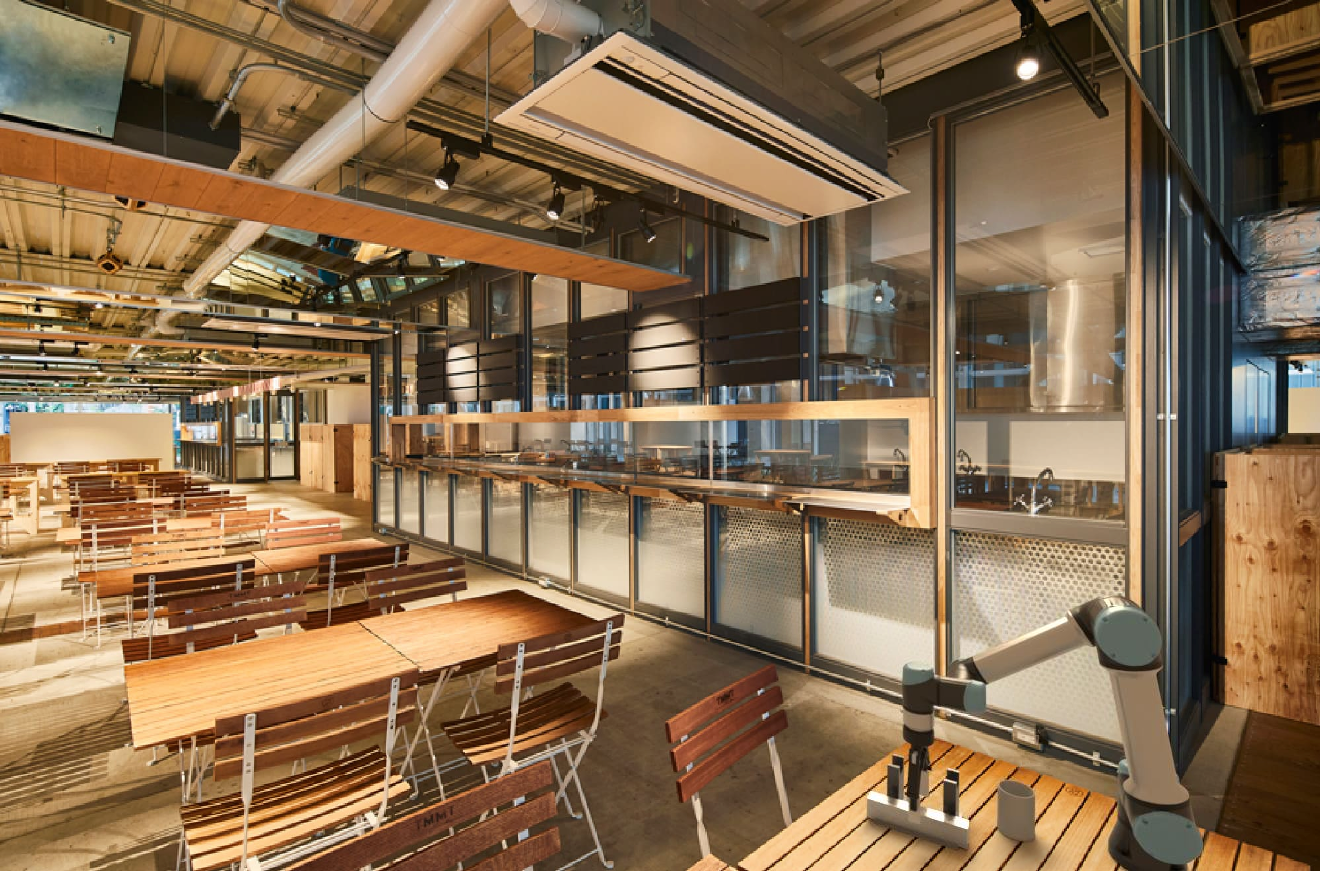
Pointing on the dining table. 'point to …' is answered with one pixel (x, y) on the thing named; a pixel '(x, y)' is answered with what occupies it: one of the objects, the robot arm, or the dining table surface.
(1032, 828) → the grey oval cup
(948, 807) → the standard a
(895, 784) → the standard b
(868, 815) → the rail
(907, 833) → the plank
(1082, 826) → the dining table surface
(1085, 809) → the dining table surface
